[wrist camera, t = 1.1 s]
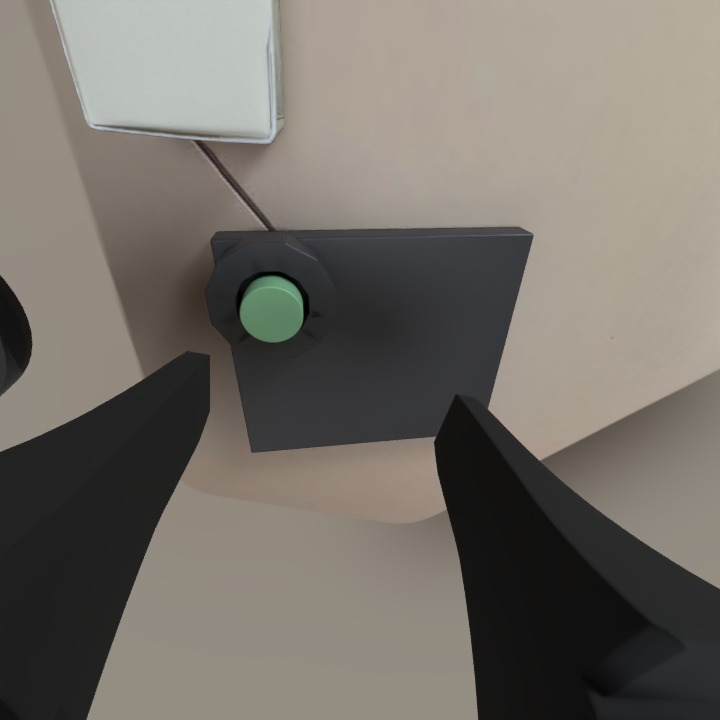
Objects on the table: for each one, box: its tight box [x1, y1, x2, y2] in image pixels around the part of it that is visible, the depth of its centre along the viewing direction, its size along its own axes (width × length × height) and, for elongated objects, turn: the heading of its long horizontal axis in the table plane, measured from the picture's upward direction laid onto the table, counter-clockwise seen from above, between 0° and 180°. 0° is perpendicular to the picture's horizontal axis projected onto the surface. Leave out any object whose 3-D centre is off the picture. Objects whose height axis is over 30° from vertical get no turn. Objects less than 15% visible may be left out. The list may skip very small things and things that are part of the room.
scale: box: [205, 227, 533, 453], centre depth 20 cm, size 15×13×3 cm
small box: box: [50, 0, 284, 144], centre depth 11 cm, size 5×4×8 cm
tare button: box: [240, 275, 303, 342], centre depth 16 cm, size 3×3×1 cm
